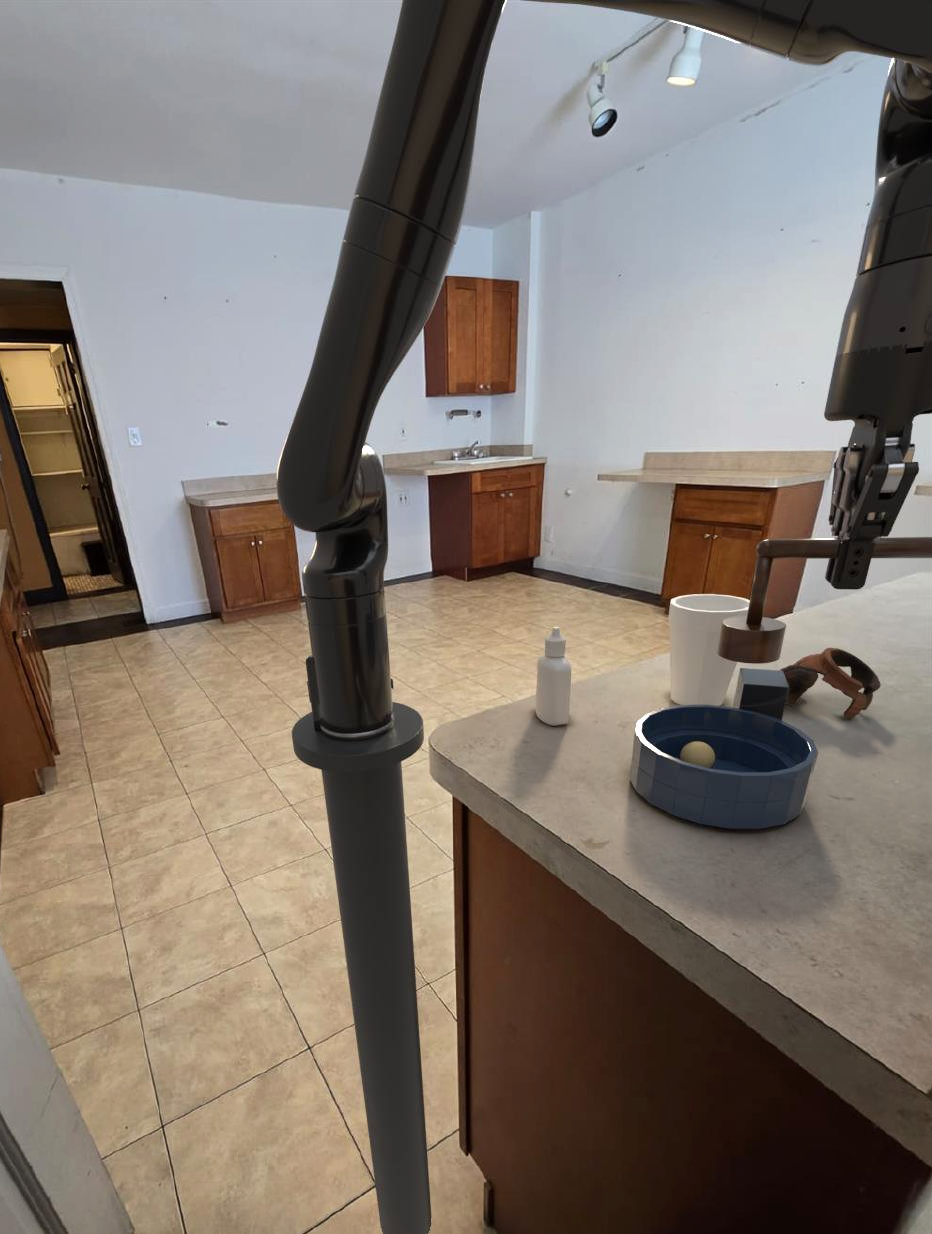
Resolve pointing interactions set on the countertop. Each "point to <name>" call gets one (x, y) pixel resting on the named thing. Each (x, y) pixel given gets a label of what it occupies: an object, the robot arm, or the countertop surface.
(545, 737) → the countertop surface
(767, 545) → the ladle
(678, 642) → the foam cup
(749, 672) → the dark navy cube
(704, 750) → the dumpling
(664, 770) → the bowl
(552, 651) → the eye dropper bottle
